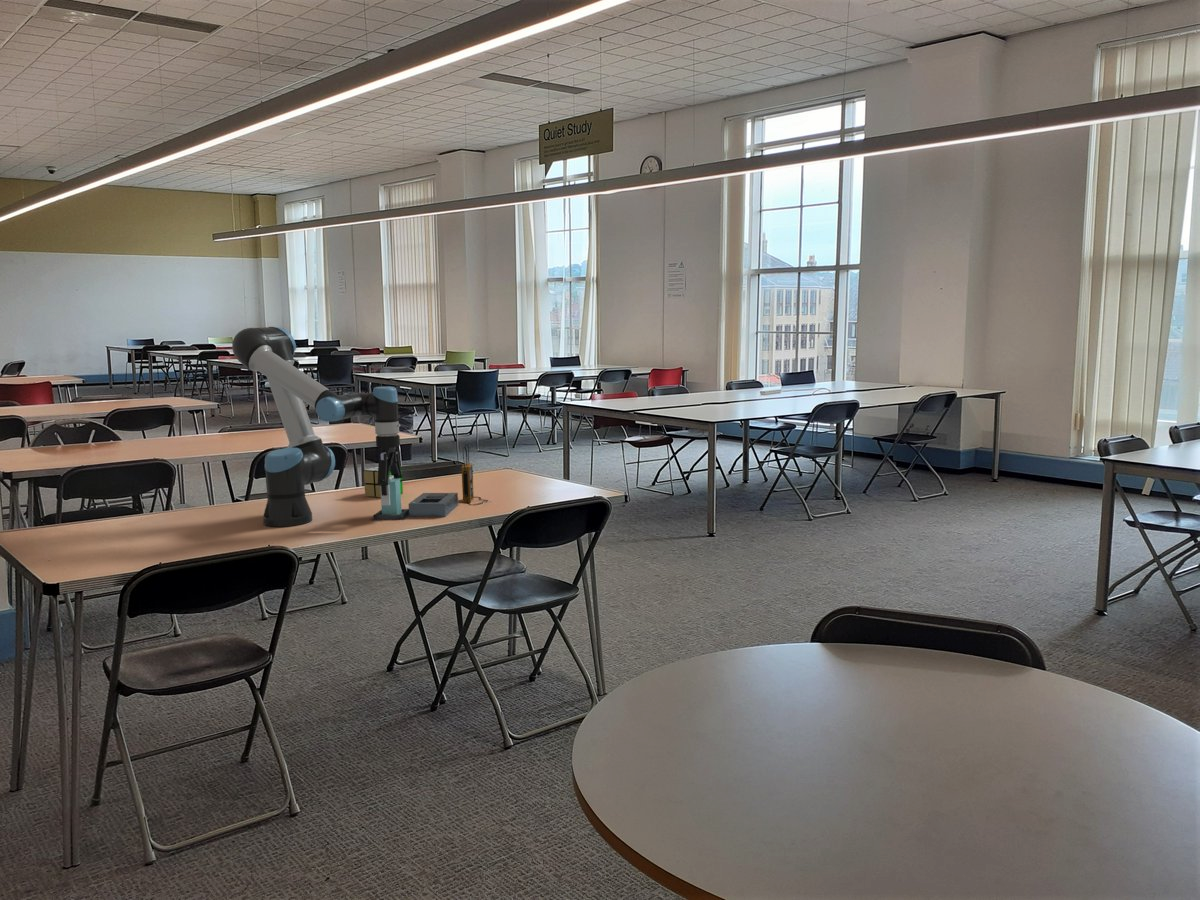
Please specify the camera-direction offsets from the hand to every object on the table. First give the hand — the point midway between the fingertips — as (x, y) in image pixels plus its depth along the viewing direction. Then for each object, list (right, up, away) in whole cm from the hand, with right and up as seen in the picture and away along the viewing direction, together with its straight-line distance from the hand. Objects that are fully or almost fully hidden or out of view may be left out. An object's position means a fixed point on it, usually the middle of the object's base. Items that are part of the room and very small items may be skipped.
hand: (391, 501), depth 301 cm
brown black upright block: (+25, -1, +26) cm, 36 cm away
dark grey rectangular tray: (0, -5, +1) cm, 6 cm away
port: (+13, -4, +8) cm, 15 cm away
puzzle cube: (-12, 0, +41) cm, 42 cm away
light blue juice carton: (0, -5, +1) cm, 5 cm away
